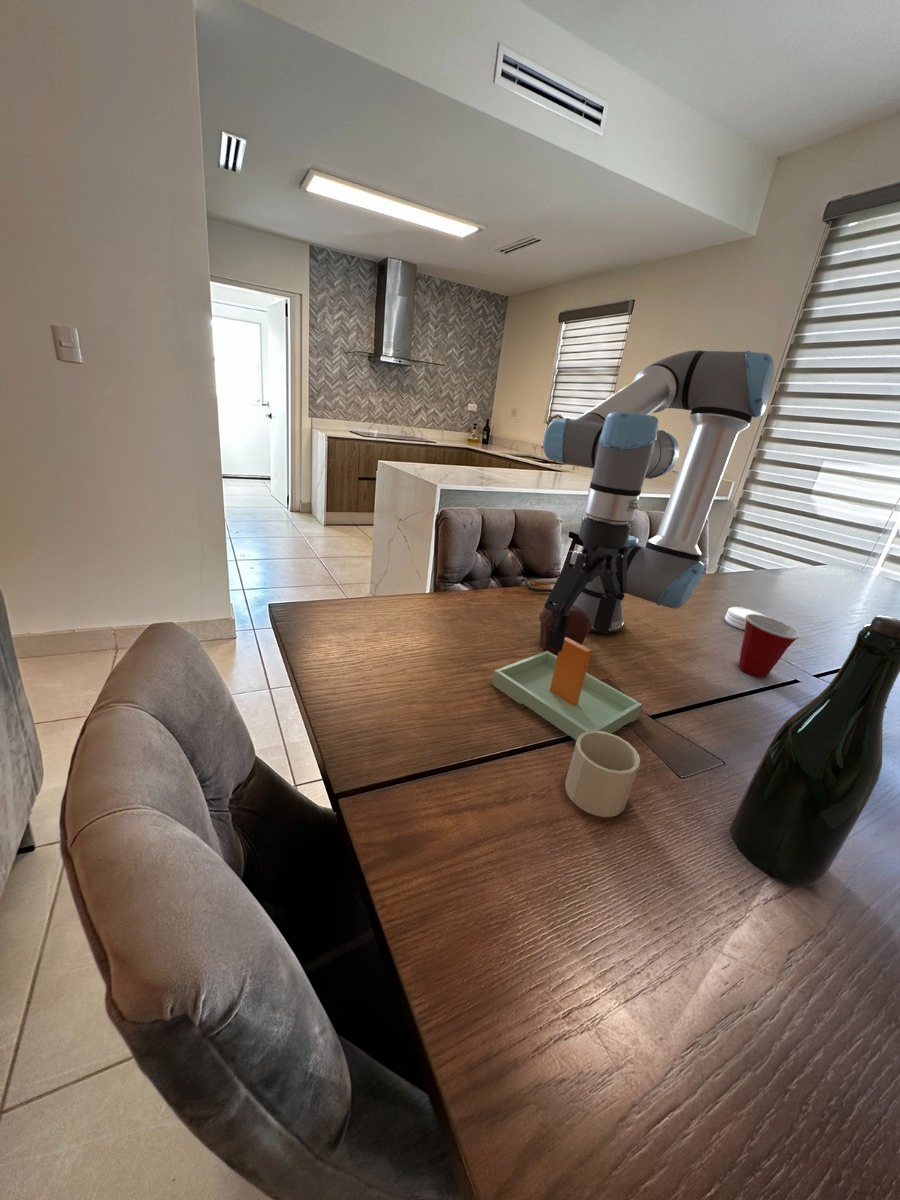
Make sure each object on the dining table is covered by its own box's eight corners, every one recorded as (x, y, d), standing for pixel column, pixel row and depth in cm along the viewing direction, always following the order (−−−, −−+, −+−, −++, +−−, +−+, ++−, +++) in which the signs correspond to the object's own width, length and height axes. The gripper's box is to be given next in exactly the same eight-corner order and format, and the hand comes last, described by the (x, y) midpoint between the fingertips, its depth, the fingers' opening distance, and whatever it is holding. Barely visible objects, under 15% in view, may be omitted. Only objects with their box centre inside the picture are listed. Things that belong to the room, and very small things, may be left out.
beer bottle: (841, 879, 58) (992, 642, 45) (782, 901, 54) (928, 649, 41) (764, 812, 67) (871, 598, 54) (709, 826, 63) (810, 601, 50)
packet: (549, 690, 88) (561, 638, 83) (554, 688, 88) (566, 636, 84) (573, 705, 84) (587, 652, 80) (578, 703, 85) (592, 650, 80)
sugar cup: (552, 789, 66) (564, 744, 63) (586, 766, 71) (599, 723, 68) (602, 830, 60) (618, 782, 57) (635, 802, 65) (651, 757, 62)
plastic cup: (790, 688, 101) (813, 639, 97) (737, 677, 103) (757, 629, 98) (769, 664, 111) (789, 618, 106) (720, 654, 113) (738, 609, 108)
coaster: (764, 625, 134) (768, 613, 133) (764, 636, 126) (768, 624, 125) (725, 614, 139) (729, 603, 137) (722, 624, 131) (727, 613, 129)
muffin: (589, 645, 109) (599, 606, 106) (580, 665, 100) (591, 623, 96) (540, 630, 114) (548, 592, 110) (527, 649, 104) (535, 608, 100)
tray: (491, 684, 89) (494, 670, 88) (544, 663, 99) (547, 650, 98) (586, 751, 74) (591, 734, 73) (637, 719, 84) (642, 704, 83)
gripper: (580, 531, 63) (549, 667, 71) (668, 519, 79) (635, 632, 87) (537, 517, 68) (513, 646, 76) (628, 509, 84) (600, 616, 92)
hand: (578, 638), depth 82 cm, fingers open, 13 cm apart
